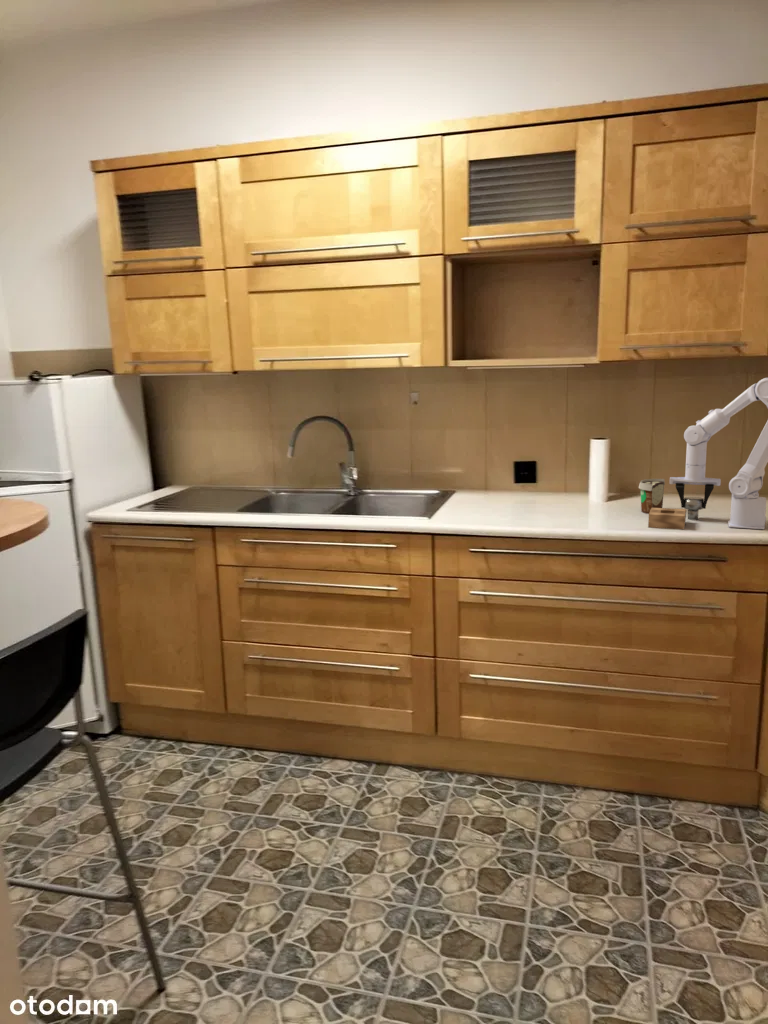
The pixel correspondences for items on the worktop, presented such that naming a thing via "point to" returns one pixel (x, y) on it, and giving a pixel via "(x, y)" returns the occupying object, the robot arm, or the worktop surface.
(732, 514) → the robot arm
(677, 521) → the block
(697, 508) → the grey rounded piece
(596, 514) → the worktop surface
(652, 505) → the food container
